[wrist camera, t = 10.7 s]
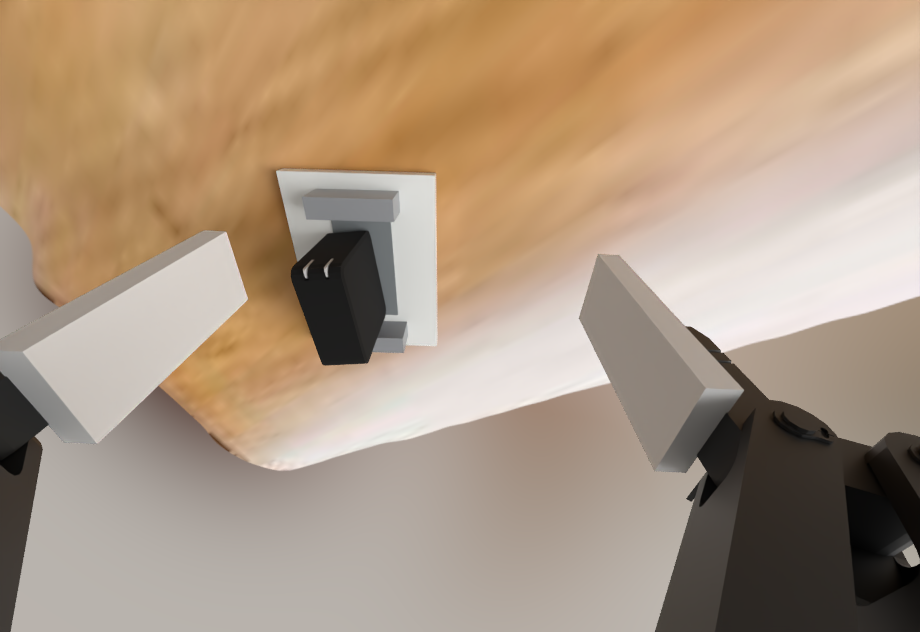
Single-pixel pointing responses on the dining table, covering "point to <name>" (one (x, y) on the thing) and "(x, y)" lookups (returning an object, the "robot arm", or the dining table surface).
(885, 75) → the dining table surface
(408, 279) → the mounting board
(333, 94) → the dining table surface
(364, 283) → the electronic device
